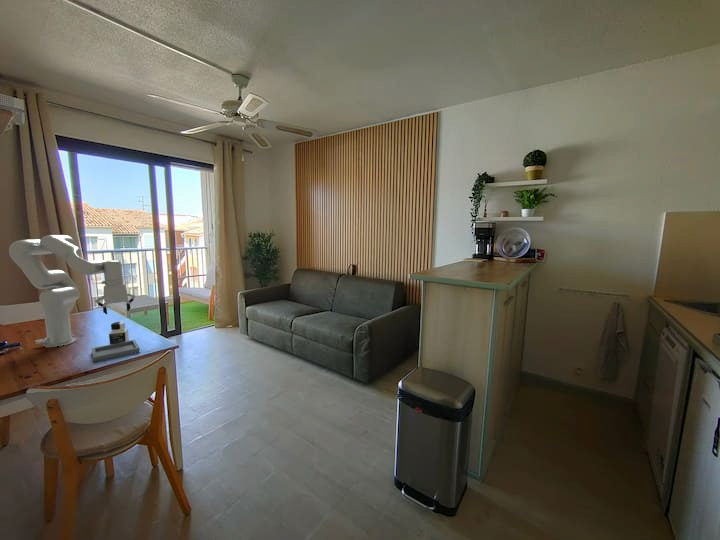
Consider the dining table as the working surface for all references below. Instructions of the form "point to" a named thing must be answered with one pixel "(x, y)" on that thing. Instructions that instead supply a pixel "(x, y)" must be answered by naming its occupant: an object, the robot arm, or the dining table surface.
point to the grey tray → (114, 350)
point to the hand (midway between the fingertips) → (117, 312)
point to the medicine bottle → (118, 333)
